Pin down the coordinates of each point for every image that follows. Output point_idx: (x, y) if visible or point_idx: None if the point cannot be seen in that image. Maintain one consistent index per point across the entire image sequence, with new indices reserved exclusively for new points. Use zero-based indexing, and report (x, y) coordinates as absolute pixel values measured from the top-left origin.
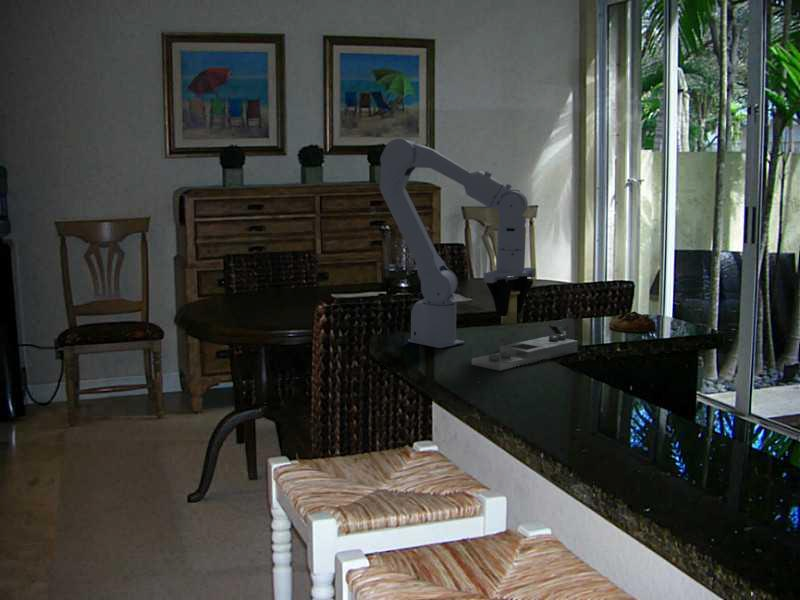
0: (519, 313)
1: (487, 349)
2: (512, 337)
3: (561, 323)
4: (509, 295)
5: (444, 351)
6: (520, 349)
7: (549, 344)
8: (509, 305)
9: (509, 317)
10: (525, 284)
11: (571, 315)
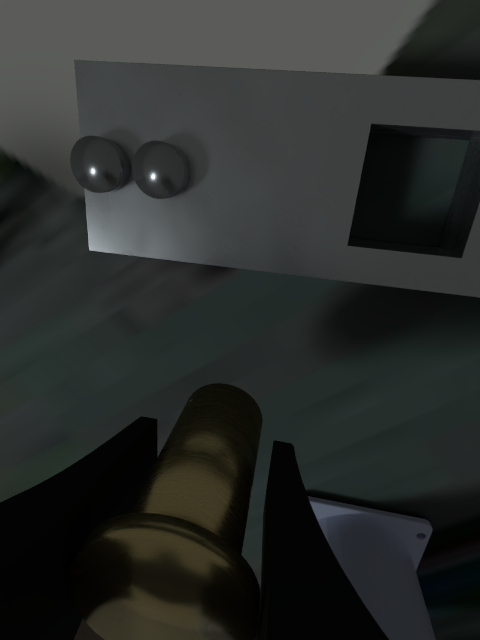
0: (151, 419)
1: (324, 400)
2: (90, 424)
3: None
4: (276, 550)
5: (455, 492)
6: None
7: (275, 121)
8: (239, 483)
9: (249, 425)
10: (5, 580)
11: None
